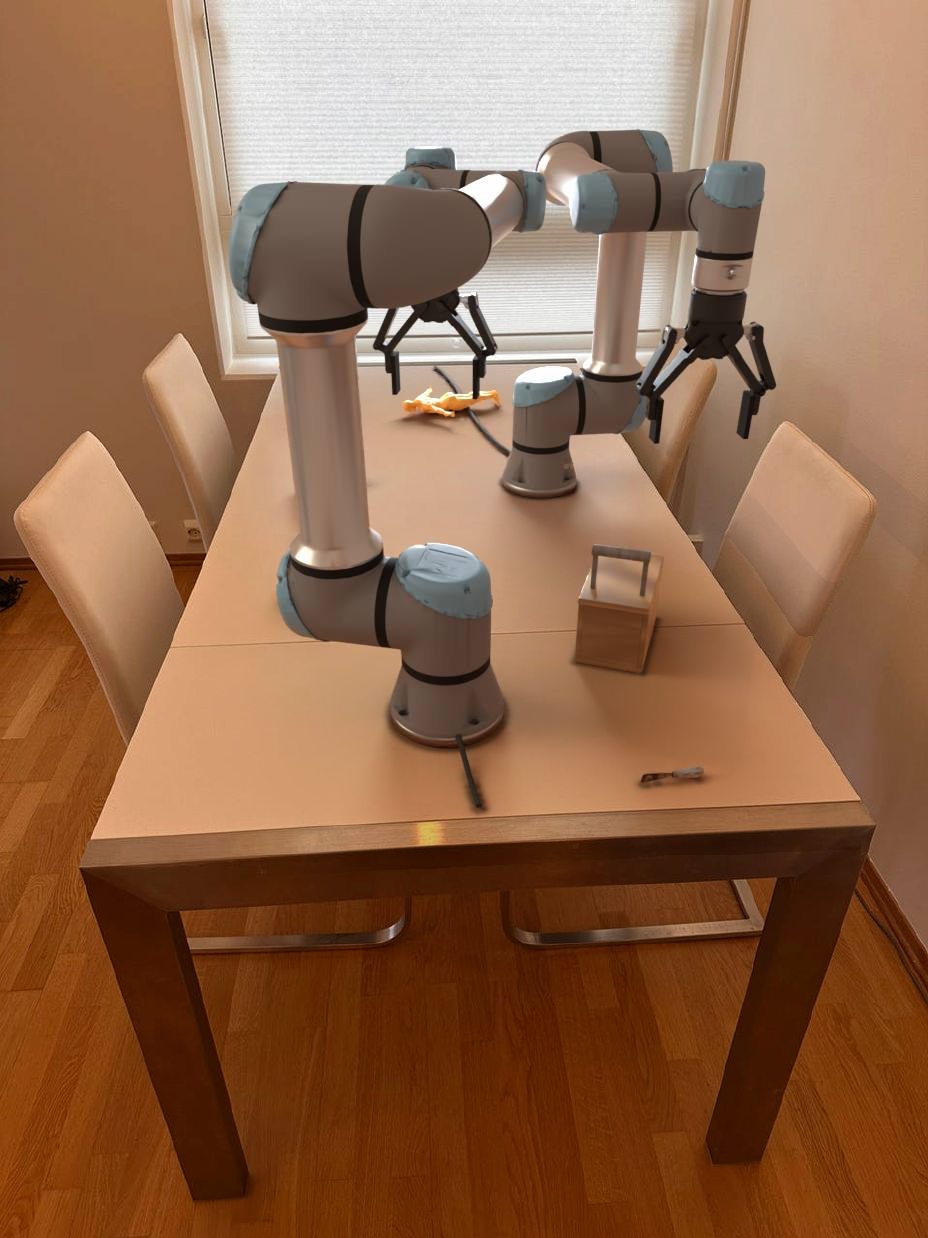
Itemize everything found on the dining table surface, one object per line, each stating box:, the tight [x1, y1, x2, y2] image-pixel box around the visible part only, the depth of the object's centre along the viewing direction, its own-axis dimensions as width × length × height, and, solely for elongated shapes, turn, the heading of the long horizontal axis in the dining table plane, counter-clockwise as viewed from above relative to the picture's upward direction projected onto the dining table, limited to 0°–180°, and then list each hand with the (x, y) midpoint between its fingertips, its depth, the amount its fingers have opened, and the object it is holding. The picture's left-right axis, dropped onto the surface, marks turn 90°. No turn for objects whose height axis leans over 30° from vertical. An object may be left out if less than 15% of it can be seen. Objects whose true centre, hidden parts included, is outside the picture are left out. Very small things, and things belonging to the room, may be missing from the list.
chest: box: [574, 562, 664, 674], centre depth 133 cm, size 16×10×10 cm, turn 162°
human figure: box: [402, 385, 500, 418], centre depth 225 cm, size 20×20×4 cm
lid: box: [577, 543, 665, 615], centre depth 128 cm, size 16×10×8 cm, turn 162°
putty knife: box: [640, 765, 705, 784], centre depth 109 cm, size 1×8×2 cm, turn 103°
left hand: (436, 394), depth 149 cm, fingers open, 13 cm apart
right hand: (698, 438), depth 132 cm, fingers open, 13 cm apart
